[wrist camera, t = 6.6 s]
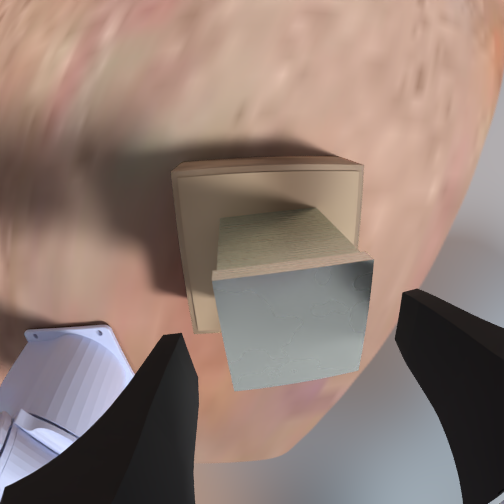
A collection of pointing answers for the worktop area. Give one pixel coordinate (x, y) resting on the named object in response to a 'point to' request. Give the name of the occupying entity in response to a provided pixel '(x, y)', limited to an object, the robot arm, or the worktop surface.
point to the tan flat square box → (253, 209)
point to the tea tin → (290, 298)
